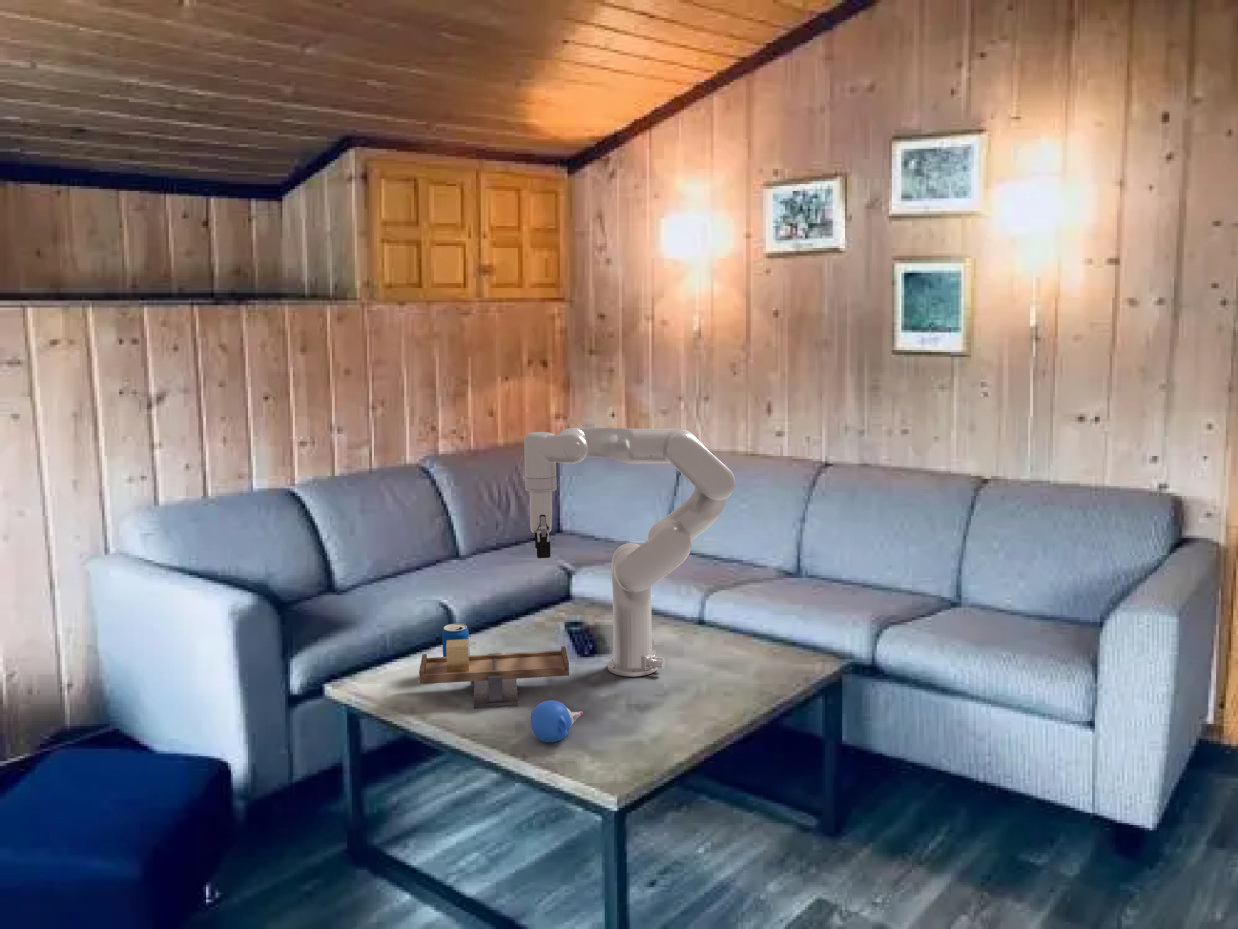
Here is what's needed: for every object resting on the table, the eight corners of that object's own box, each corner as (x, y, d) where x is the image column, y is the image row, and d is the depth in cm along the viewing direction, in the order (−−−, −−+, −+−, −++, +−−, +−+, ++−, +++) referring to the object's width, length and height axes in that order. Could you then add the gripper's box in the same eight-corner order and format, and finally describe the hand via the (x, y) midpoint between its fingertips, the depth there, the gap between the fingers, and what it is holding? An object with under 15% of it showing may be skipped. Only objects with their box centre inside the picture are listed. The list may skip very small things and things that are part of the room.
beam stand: (516, 678, 258) (515, 651, 257) (518, 706, 240) (517, 677, 239) (474, 680, 257) (473, 653, 255) (473, 708, 239) (472, 680, 238)
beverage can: (465, 679, 257) (463, 631, 255) (439, 677, 259) (437, 630, 257) (473, 670, 264) (472, 623, 262) (449, 668, 265) (447, 622, 263)
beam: (565, 658, 256) (565, 645, 255) (569, 677, 243) (569, 664, 242) (423, 666, 252) (422, 653, 251) (419, 686, 239) (419, 672, 238)
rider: (469, 663, 249) (468, 639, 248) (469, 671, 244) (468, 646, 243) (447, 664, 249) (446, 640, 248) (447, 672, 244) (446, 647, 243)
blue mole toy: (597, 741, 220) (596, 703, 219) (547, 755, 214) (546, 716, 213) (569, 722, 230) (568, 685, 229) (520, 735, 224) (519, 697, 223)
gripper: (524, 478, 262) (526, 545, 265) (526, 490, 245) (528, 562, 248) (554, 477, 263) (555, 544, 266) (558, 489, 246) (560, 561, 249)
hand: (542, 552), depth 257 cm, fingers open, 9 cm apart
